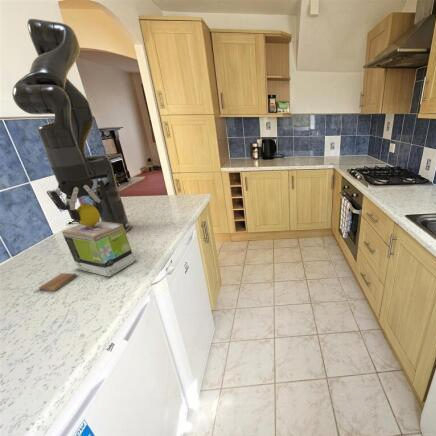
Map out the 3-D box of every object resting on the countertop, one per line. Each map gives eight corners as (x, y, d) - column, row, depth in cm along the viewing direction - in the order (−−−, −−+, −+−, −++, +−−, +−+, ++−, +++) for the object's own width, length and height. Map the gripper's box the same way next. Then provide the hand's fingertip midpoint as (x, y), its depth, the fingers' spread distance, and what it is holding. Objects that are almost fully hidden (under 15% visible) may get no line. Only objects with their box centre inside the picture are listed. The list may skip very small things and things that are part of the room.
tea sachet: (40, 290, 72) (38, 287, 72) (62, 275, 79) (61, 273, 78) (55, 290, 72) (53, 288, 71) (76, 276, 78) (75, 273, 78)
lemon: (89, 223, 80) (80, 200, 77) (107, 222, 81) (98, 199, 77) (77, 231, 75) (67, 206, 72) (96, 229, 76) (86, 205, 72)
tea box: (136, 261, 86) (123, 223, 80) (108, 278, 77) (92, 237, 71) (106, 254, 90) (92, 218, 84) (77, 269, 82) (59, 230, 76)
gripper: (88, 158, 77) (105, 207, 84) (28, 167, 65) (54, 223, 72) (102, 159, 74) (119, 210, 81) (42, 168, 62) (68, 228, 69)
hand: (88, 216), depth 76 cm, fingers closed on lemon, 5 cm apart
